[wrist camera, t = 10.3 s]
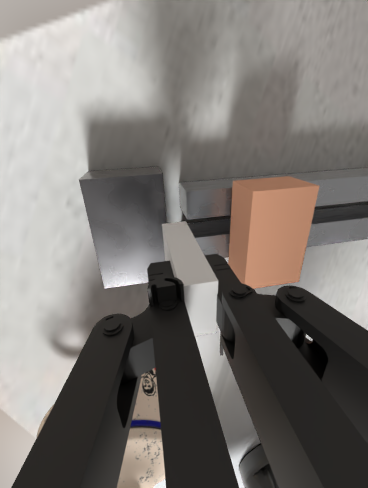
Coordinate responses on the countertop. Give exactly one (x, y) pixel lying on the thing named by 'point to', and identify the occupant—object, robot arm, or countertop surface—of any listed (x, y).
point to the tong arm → (321, 232)
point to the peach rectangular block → (270, 229)
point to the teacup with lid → (142, 439)
